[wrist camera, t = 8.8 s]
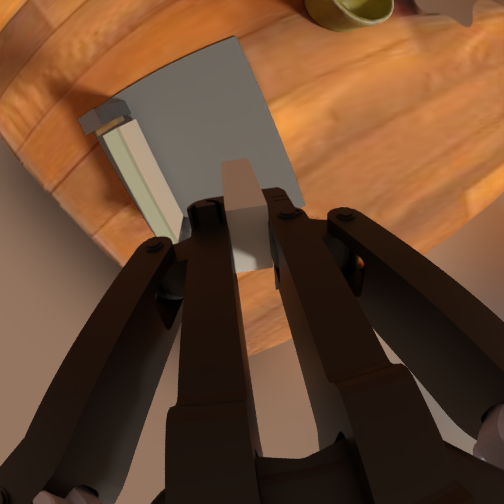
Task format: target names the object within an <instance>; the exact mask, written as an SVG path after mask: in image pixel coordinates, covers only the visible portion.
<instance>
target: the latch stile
mask: <svg viewBox="0 0 504 504" xmlns="http://www.w3.org/2000/svg"><path fill="white" fill-rule="evenodd" d="M129 114H131V111H130V109H129V107H128V105H127V103H126V101H121V102H116V103H112V104H108V105H104V106H100V107H96V108H93V109H91V110H90V111H89V112H87V113H86V114H84V115H83V116H82V117H80V118H79V119H78V121H79V123H80V125H81V127H82V129H83V130H84V132H85V134H86V136H87V135H89V134H91V133H93V132H95V131H96V134H97V135H98V136H100V135H102V134H103V133H105V132H107V131H108V130H110V129H112V128H113V127H115V126H116V125H118V124H119V123H121V122H123V121H124V120H125V119H124V117H126V116H128V115H129ZM97 130H98V131H97Z"/></svg>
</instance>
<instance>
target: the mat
mask: <svg viewBox="0 0 504 504" xmlns="http://www.w3.org/2000/svg"><path fill="white" fill-rule="evenodd" d="M121 101H126V103H127V105H128V107H129V109H130V111H131V114H129V115H128V116H126V117H124V119H125V120H124V121H123V122H121V123H119V124H118V125H116V126H115V127H113V128H112V129H110V130H108V131H107V132H105V133H103V134H102V135H100V136H98V135H97V134H96V131H95V132H94V134H95V136H96V138H97V139H98V141H99V143H100V145H101V147H102V148H103V150H104V152H105V154H106V156H107V157H108V159H109V161H110V163H111V164H112V166H113V168H114V169H115V171H116V173H117V175H118V176H119V178H120V180H121V181H122V183H123V185H124V186H125V188H126V190H127V191H128V193H129V195H130V196H131V198H132V199H133V201H134V203H135V204H136V206H137V208H138V209H139V211H140V212H141V214H142V215H143V217H144V219H145V220H146V222H147V223H148V225H149V226H150V224H149V222H148V221H147V219H146V217H145V215H144V214H143V212H142V210H141V208H140V206H139V205H138V203H137V201H136V199H135V197H134V196H133V194H132V192H131V190H130V188H129V186H128V184H127V183H126V181H125V179H124V177H123V175H122V173H121V171H120V169H119V167H118V165H117V163H116V162H115V160H114V158H113V156H112V154H111V152H110V150H109V148H108V146H107V144H106V142H105V140H104V138H103V136H104V135H105V134H107V133H109V132H111V131H112V130H114V129H116V128H118V127H120V126H122V125H124V124H126V123H128V122H130V121H132V120H135V119H136V120H137V122H138V124H139V127H140V129H141V131H142V133H143V135H144V137H145V139H146V141H147V144H148V146H149V148H150V150H151V152H152V154H153V156H154V158H155V160H156V162H157V164H158V166H159V168H160V170H161V172H162V174H163V176H164V178H165V180H166V182H167V184H168V186H169V188H170V190H171V192H172V194H173V196H174V198H175V200H176V202H177V204H178V206H179V208H180V210H181V212H182V214H183V217H187V218H189V217H188V213H187V208H188V206H189V205H191V204H192V203H194V202H196V201H199V200H203V199H207V198H213V197H219V196H224V195H223V181H222V166H221V162H226V161H232V160H239V159H246V158H248V159H249V162H250V164H251V166H252V169H253V171H254V174H255V176H256V178H257V181H258V183H259V186H260V188H261V189H267V188H274V187H279V188H281V189H283V190H285V191H286V193H287V195H288V196H289V198H290V200H291V201H292V203H293V205H294V206H295V207H297V208H301V207H304V206H305V203H304V200H303V197H302V194H301V191H300V189H299V186H298V183H297V180H296V178H295V175H294V172H293V169H292V167H291V164H290V161H289V159H288V156H287V154H286V151H285V148H284V146H283V143H282V141H281V138H280V136H279V133H278V131H277V128H276V126H275V123H274V121H273V118H272V116H271V113H270V111H269V109H268V106H267V104H266V102H265V99H264V97H263V95H262V92H261V90H260V88H259V85H258V83H257V81H256V79H255V76H254V74H253V72H252V70H251V67H250V65H249V63H248V61H247V59H246V57H245V54H244V52H243V50H242V48H241V46H240V44H239V42H238V40H237V38H236V36H234V37H232V38H229V39H226V40H224V41H221V42H219V43H216V44H214V45H211V46H209V47H206V48H204V49H202V50H199V51H197V52H195V53H193V54H190V55H188V56H186V57H184V58H182V59H180V60H178V61H176V62H174V63H172V64H170V65H168V66H166V67H164V68H162V69H160V70H158V71H156V72H154V73H152V74H151V75H149V76H147V77H145V78H143V79H142V80H140V81H138V82H136V83H135V84H133V85H131V86H130V87H128V88H126V89H125V90H123V91H121V92H120V93H118V94H117V95H115V96H114V97H112V98H110V99H109V100H107V101H106V102H104V103H103V104H101V105H100V106H104V105H108V104H112V103H116V102H121ZM100 106H99V107H100ZM97 131H98V130H97ZM150 228H151V230H152V231H153V229H152V227H151V226H150ZM153 233H154V231H153ZM154 234H155V233H154ZM155 236H156V234H155ZM156 237H157V236H156ZM190 237H191V233H190Z"/></svg>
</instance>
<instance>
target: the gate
mask: <svg viewBox="0 0 504 504" xmlns="http://www.w3.org/2000/svg"><path fill="white" fill-rule="evenodd" d="M103 138H104V140H105V142H106V144H107V146H108V148H109V150H110V152H111V154H112V156H113V158H114V160H115V162H116V163H117V165H118V167H119V169H120V171H121V173H122V175H123V177H124V179H125V181H126V183H127V184H128V186H129V188H130V190H131V192H132V194H133V196H134V197H135V199H136V201H137V203H138V205H139V206H140V208H141V210H142V212H143V214H144V215H145V217H146V219H147V221H148V222H149V224H150V226H151V227H152V229H153V231H154V233H155V234H156V236H157V237H160V236H164V237H168V238H171V240H172V242H173V244H176V243H179V242H178V239H179V234H180V229H181V224H182V219H183V214H182V212H181V210H180V208H179V206H178V204H177V202H176V200H175V198H174V196H173V194H172V192H171V190H170V188H169V186H168V184H167V182H166V180H165V178H164V176H163V174H162V172H161V170H160V168H159V166H158V164H157V162H156V160H155V158H154V156H153V154H152V152H151V150H150V148H149V146H148V144H147V141H146V139H145V137H144V135H143V133H142V131H141V129H140V127H139V124H138V122H137V120H136V119H135V120H132V121H130V122H128V123H126V124H124V125H122V126H120V127H118V128H116V129H114V130H112V131H111V132H109V133H107V134H105V135H104V136H103Z"/></svg>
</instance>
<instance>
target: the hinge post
mask: <svg viewBox="0 0 504 504" xmlns="http://www.w3.org/2000/svg"><path fill="white" fill-rule="evenodd" d="M190 233H191V226H190V221H189V218H187V217H183V219H182V224H181V229H180V234H179V239H178V242H181V241H184V240H186V239H188V238H189V237H190Z"/></svg>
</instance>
